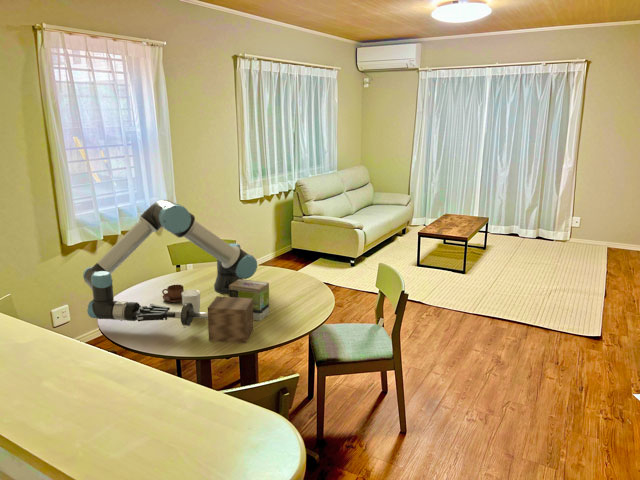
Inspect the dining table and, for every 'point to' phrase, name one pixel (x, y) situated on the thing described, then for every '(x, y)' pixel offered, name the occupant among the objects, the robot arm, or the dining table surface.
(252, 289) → the tea box
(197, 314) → the plunger
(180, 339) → the dining table surface
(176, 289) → the cup and saucer
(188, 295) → the white cup
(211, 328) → the brown wooden open box
